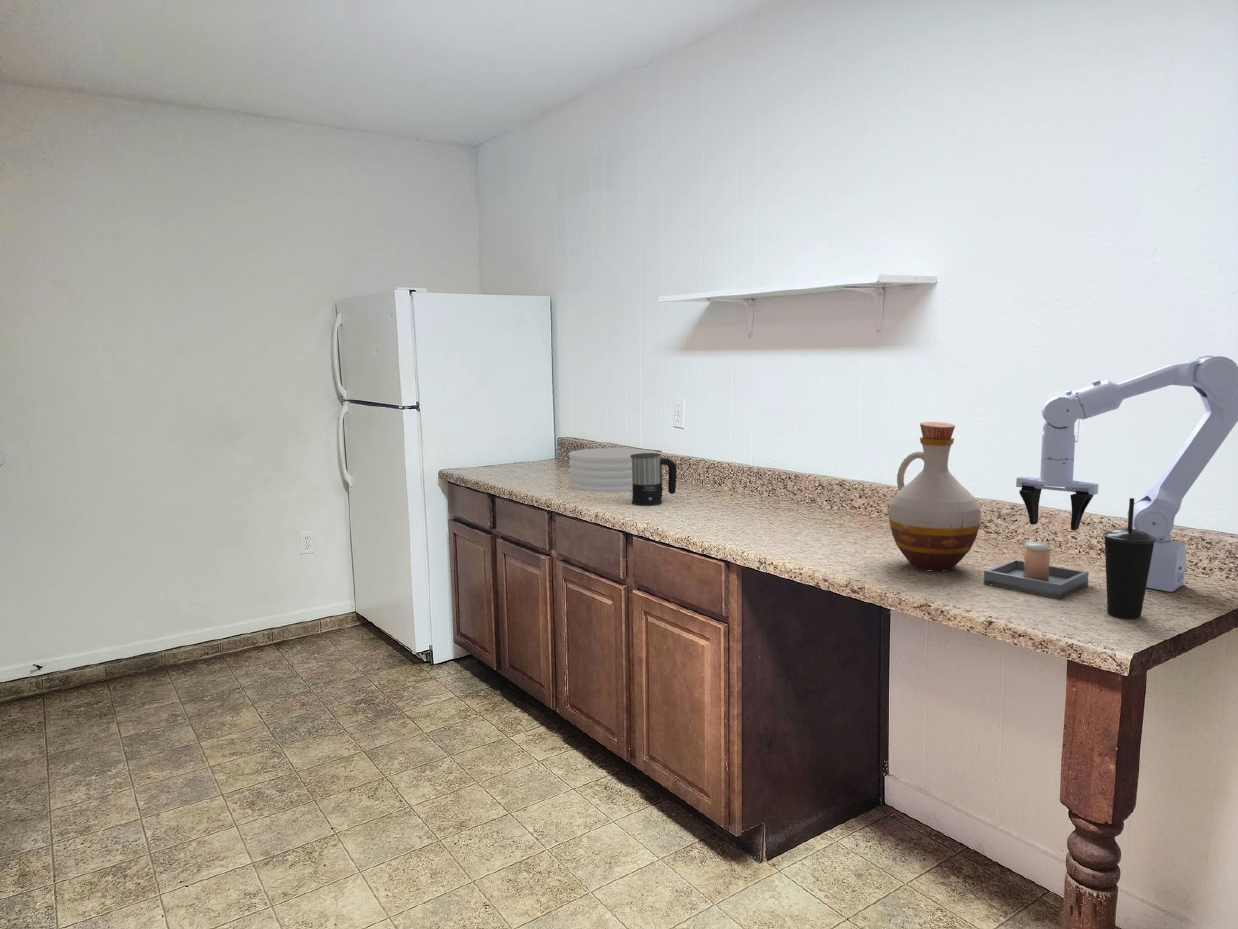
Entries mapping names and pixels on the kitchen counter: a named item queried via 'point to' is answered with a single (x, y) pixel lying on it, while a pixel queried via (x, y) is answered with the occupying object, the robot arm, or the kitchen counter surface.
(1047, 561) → the shaker
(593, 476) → the plate stack
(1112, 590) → the drinking cup
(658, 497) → the milk frother
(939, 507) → the jug
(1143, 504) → the robot arm
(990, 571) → the tray
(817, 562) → the kitchen counter surface
